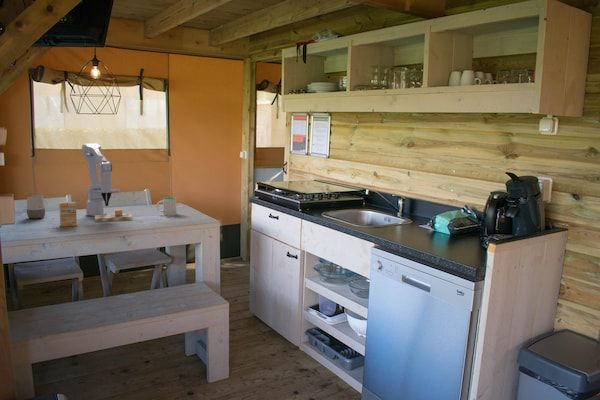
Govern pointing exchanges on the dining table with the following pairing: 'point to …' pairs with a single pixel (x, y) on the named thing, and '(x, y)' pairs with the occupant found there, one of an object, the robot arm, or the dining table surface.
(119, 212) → the fader tab
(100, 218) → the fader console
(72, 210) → the supplement box
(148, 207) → the dining table surface
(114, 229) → the dining table surface
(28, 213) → the smart speaker
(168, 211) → the mug
